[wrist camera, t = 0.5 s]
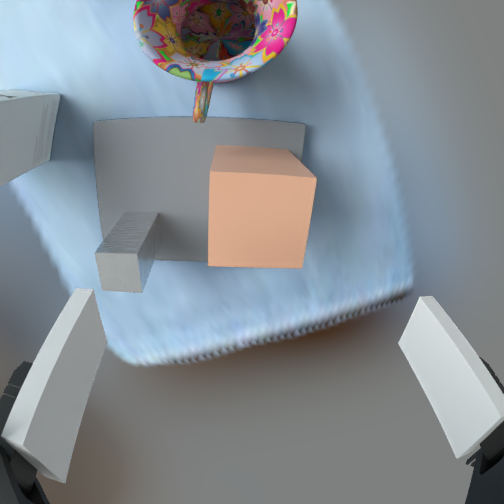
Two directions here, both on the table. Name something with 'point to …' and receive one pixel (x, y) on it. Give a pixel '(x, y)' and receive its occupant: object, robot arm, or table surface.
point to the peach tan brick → (258, 208)
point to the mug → (213, 39)
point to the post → (129, 252)
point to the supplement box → (25, 131)
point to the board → (174, 171)
